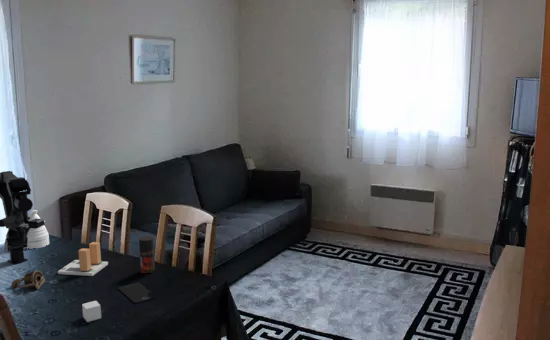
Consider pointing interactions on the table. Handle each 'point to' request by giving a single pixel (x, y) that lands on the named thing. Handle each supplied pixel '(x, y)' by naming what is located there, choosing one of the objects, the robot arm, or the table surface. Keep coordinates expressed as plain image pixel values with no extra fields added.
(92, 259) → the tab
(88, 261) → the tab
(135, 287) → the cell phone
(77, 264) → the switch bank
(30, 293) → the table surface
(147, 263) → the deodorant
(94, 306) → the white cube
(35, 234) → the honey pot
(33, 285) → the brown ringed piece
